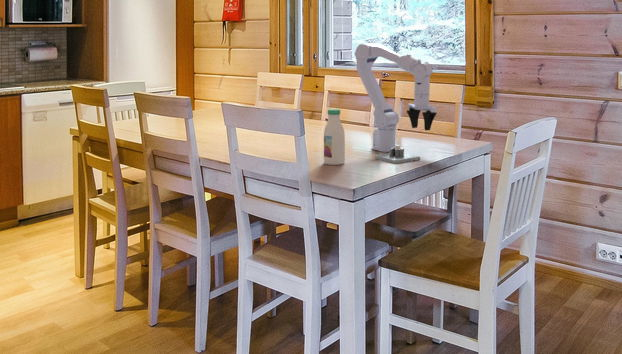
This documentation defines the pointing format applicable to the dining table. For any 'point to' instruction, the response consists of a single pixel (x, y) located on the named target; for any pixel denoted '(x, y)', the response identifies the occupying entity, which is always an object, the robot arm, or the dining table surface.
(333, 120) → the milk bottle
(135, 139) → the dining table surface
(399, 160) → the stand
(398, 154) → the split ring
